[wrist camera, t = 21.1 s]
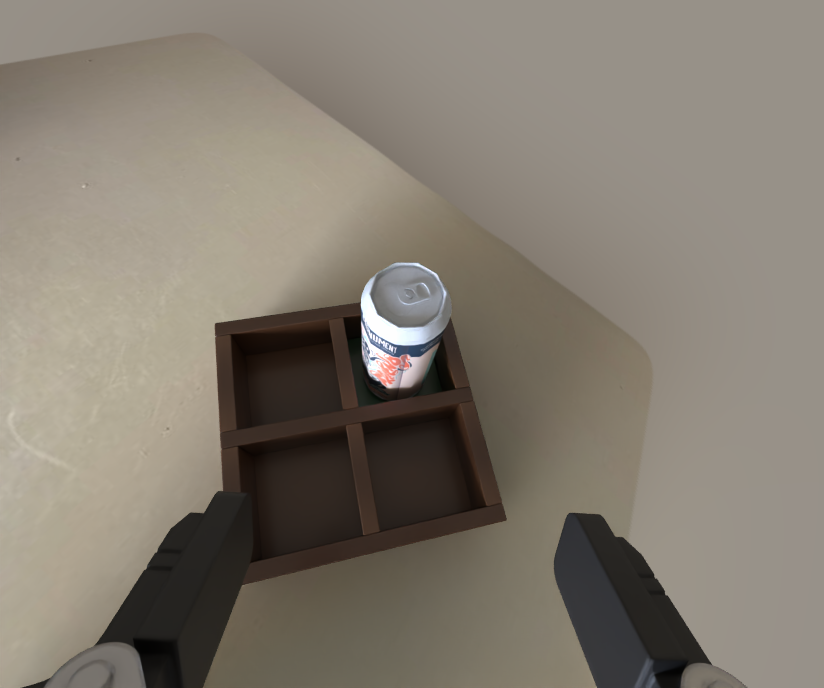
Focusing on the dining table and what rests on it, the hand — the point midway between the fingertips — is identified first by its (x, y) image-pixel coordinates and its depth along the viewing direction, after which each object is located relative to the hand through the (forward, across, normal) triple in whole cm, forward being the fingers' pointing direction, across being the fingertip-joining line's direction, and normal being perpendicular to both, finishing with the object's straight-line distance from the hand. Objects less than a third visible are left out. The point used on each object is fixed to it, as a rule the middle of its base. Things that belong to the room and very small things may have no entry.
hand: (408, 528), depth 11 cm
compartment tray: (+18, +3, +9) cm, 21 cm away
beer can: (+21, 0, +6) cm, 22 cm away
